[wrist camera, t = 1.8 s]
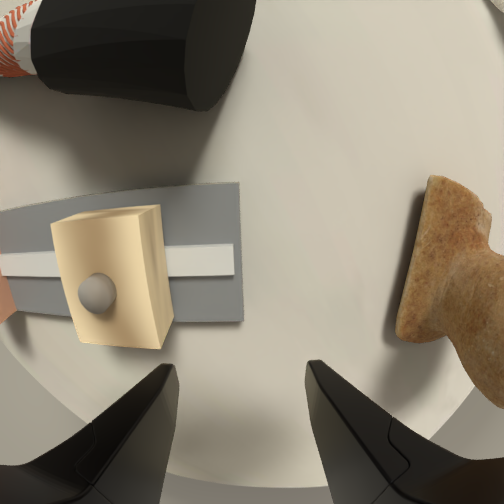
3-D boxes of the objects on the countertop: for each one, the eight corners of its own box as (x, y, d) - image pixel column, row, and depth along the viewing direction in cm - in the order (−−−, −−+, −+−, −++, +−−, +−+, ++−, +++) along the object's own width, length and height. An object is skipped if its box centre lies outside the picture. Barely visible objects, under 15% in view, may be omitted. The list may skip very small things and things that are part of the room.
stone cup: (457, 330, 24) (534, 410, 10) (375, 336, 23) (455, 460, 9) (494, 199, 20) (606, 238, 5) (415, 170, 19) (576, 202, 5)
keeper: (102, 313, 19) (72, 352, 14) (83, 211, 17) (38, 228, 12) (174, 316, 19) (155, 361, 14) (160, 204, 17) (129, 220, 12)
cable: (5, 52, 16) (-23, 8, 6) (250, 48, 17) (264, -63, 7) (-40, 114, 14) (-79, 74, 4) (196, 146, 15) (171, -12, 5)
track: (9, 302, 21) (-25, 329, 15) (-11, 213, 18) (-54, 228, 12) (243, 311, 22) (244, 363, 16) (239, 181, 19) (237, 189, 13)
